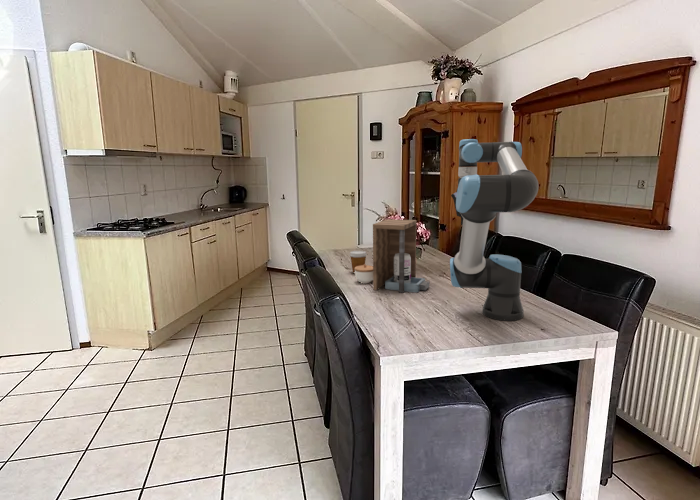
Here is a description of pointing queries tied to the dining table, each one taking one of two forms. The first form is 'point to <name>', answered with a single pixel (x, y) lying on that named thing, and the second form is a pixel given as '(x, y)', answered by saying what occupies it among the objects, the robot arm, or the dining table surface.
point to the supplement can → (406, 268)
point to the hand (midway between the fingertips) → (465, 232)
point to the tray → (415, 284)
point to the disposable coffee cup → (357, 258)
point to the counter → (393, 249)
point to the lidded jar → (364, 273)
